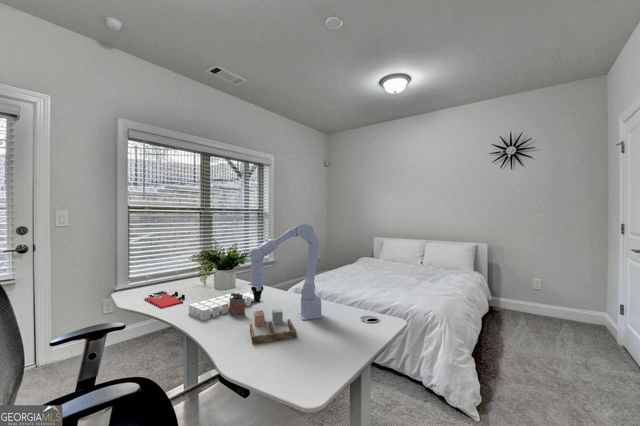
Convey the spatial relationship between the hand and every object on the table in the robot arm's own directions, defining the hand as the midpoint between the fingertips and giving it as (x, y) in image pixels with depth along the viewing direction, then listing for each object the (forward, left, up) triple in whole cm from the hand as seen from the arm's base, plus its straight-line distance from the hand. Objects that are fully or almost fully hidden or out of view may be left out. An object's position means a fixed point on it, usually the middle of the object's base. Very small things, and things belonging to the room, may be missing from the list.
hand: (257, 302), depth 133 cm
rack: (-4, +21, -7) cm, 22 cm away
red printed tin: (+9, -6, -7) cm, 13 cm away
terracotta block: (0, +9, -7) cm, 11 cm away
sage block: (-8, +10, -7) cm, 14 cm away
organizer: (+13, -18, -7) cm, 23 cm away
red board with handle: (+48, -42, -7) cm, 64 cm away
